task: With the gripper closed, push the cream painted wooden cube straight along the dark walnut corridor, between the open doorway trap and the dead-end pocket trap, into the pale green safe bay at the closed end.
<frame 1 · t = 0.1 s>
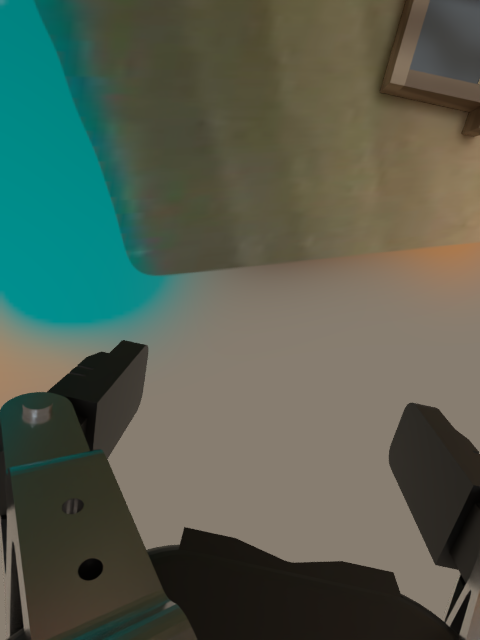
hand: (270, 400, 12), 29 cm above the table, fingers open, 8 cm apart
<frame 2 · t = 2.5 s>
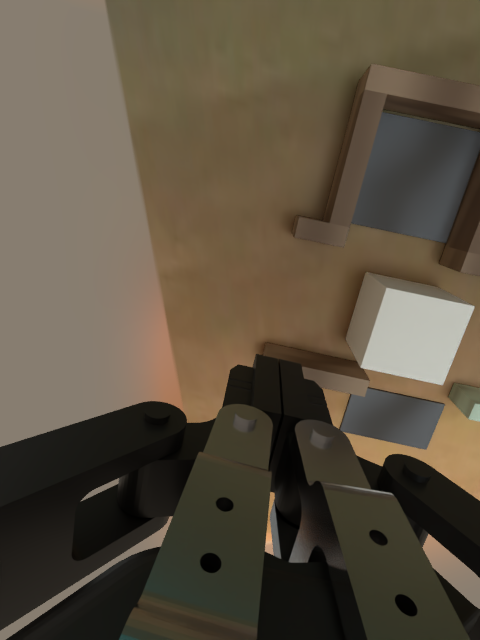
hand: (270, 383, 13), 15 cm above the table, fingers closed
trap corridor: (446, 326, 27), on the table
cream block: (389, 313, 27), on the table
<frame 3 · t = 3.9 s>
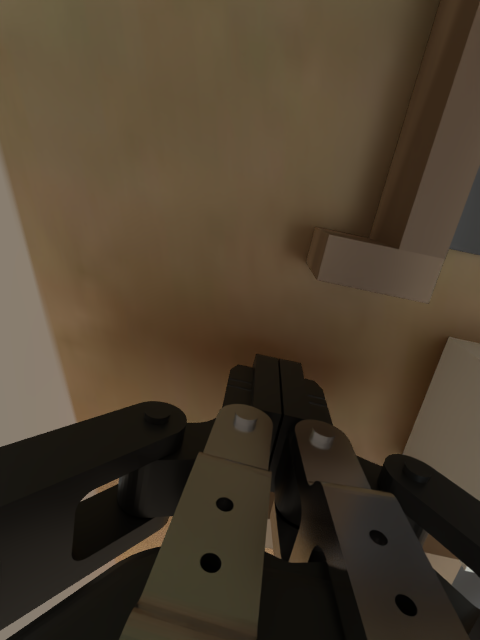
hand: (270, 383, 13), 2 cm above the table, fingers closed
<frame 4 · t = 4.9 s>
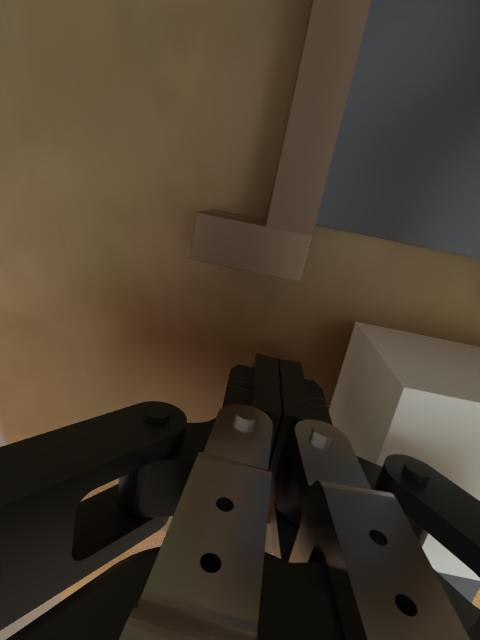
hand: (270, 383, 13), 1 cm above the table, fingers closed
cream block: (402, 397, 14), on the table, touching gripper
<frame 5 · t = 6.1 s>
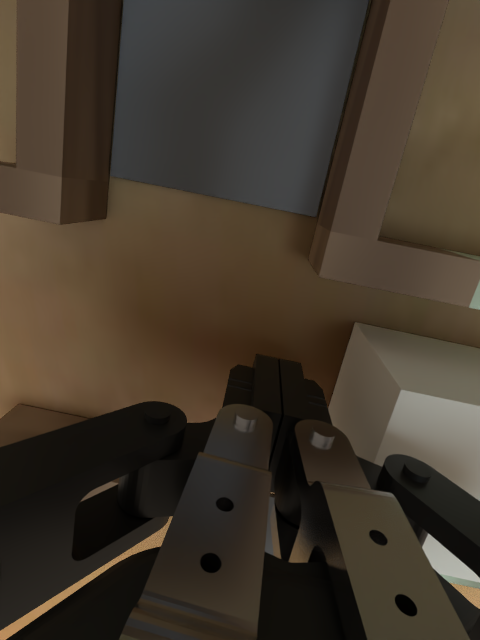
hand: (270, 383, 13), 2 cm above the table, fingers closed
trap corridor: (335, 376, 14), on the table
cream block: (401, 398, 14), on the table, touching gripper
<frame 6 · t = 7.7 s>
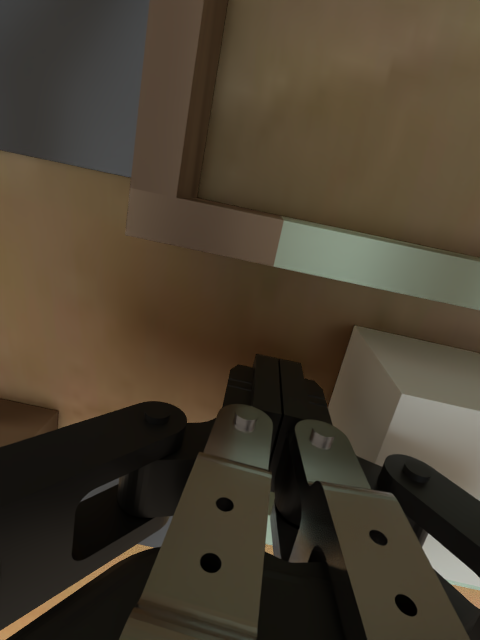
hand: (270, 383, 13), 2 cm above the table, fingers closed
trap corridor: (195, 346, 14), on the table
cream block: (399, 401, 14), on the table, touching gripper
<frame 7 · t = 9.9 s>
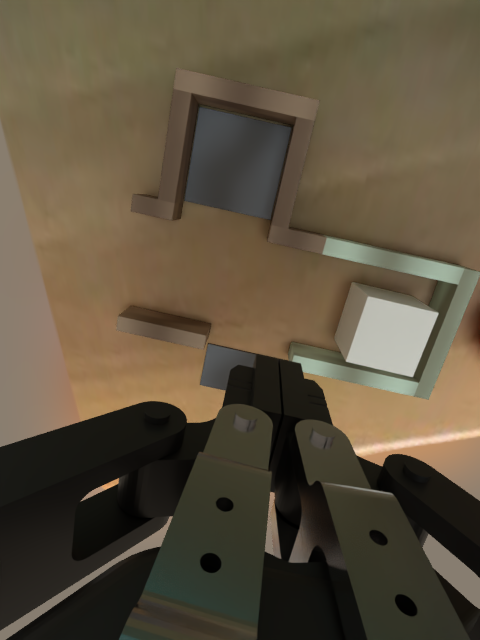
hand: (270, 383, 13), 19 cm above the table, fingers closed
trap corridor: (279, 291, 31), on the table
cream block: (371, 317, 32), on the table
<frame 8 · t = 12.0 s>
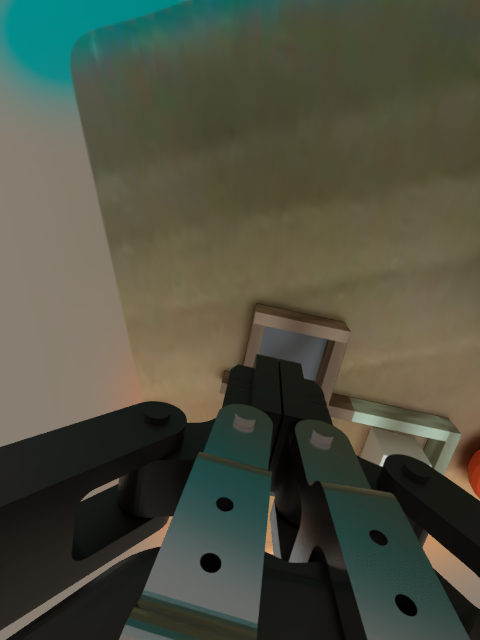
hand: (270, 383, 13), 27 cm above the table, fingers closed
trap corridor: (318, 432, 44), on the table
cream block: (385, 450, 44), on the table
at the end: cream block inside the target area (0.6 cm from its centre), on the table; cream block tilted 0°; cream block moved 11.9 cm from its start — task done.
